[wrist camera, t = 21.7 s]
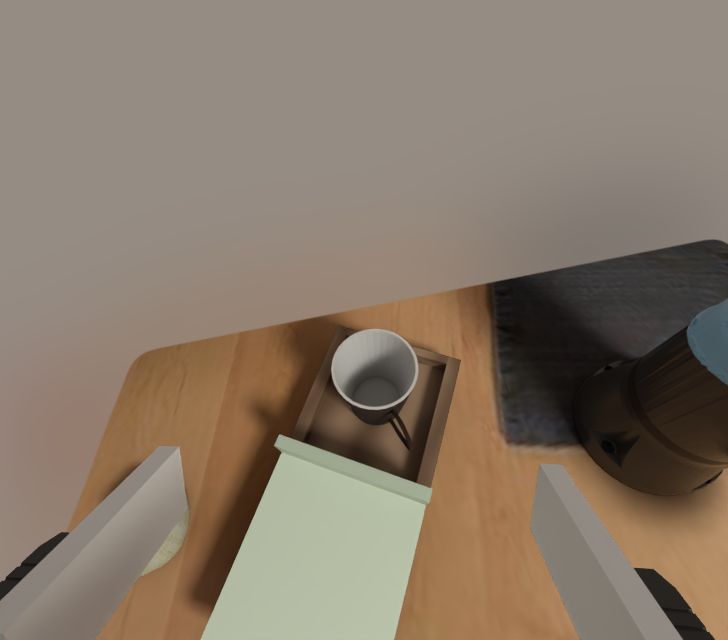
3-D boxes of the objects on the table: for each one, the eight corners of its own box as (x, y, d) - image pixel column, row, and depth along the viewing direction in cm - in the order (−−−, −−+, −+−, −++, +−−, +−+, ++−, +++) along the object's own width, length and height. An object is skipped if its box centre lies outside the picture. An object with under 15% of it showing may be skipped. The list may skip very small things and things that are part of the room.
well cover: (428, 493, 38) (432, 489, 35) (369, 741, 30) (367, 767, 26) (288, 442, 42) (279, 434, 38) (197, 653, 33) (175, 666, 30)
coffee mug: (342, 366, 48) (333, 329, 40) (410, 366, 48) (416, 328, 39) (338, 462, 43) (326, 442, 34) (415, 463, 42) (423, 443, 33)
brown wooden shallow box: (455, 372, 49) (460, 360, 46) (387, 656, 36) (387, 669, 32) (341, 339, 53) (338, 325, 49) (238, 587, 39) (223, 592, 35)
